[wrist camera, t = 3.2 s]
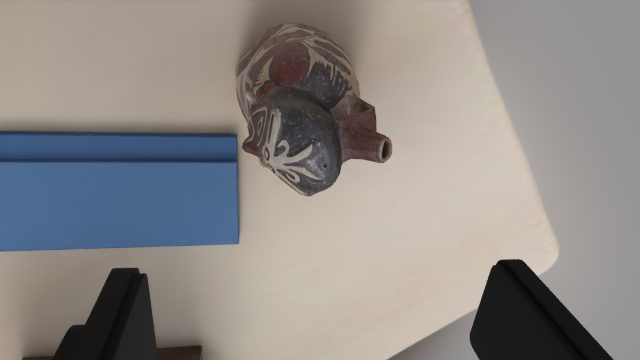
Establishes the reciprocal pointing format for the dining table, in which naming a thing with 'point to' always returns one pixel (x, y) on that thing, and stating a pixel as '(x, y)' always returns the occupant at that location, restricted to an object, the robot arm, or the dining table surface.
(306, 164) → the figurine
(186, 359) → the bin
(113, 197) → the dish cloth
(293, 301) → the dining table surface
